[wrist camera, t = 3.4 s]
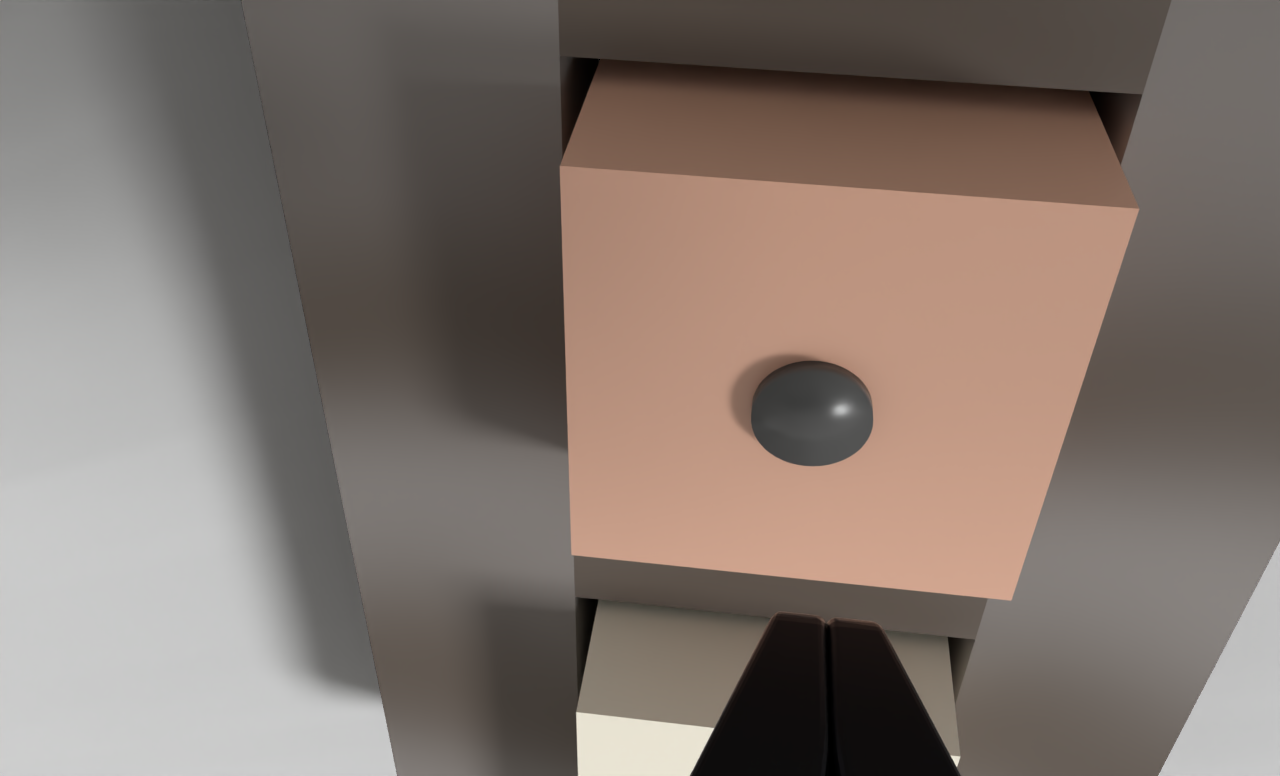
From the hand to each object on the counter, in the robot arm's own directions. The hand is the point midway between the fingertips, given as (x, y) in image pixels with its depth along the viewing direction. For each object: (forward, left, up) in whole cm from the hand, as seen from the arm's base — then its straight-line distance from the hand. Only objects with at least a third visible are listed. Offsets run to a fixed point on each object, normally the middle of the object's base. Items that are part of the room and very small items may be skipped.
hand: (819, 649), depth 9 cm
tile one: (0, 0, -7) cm, 7 cm away
